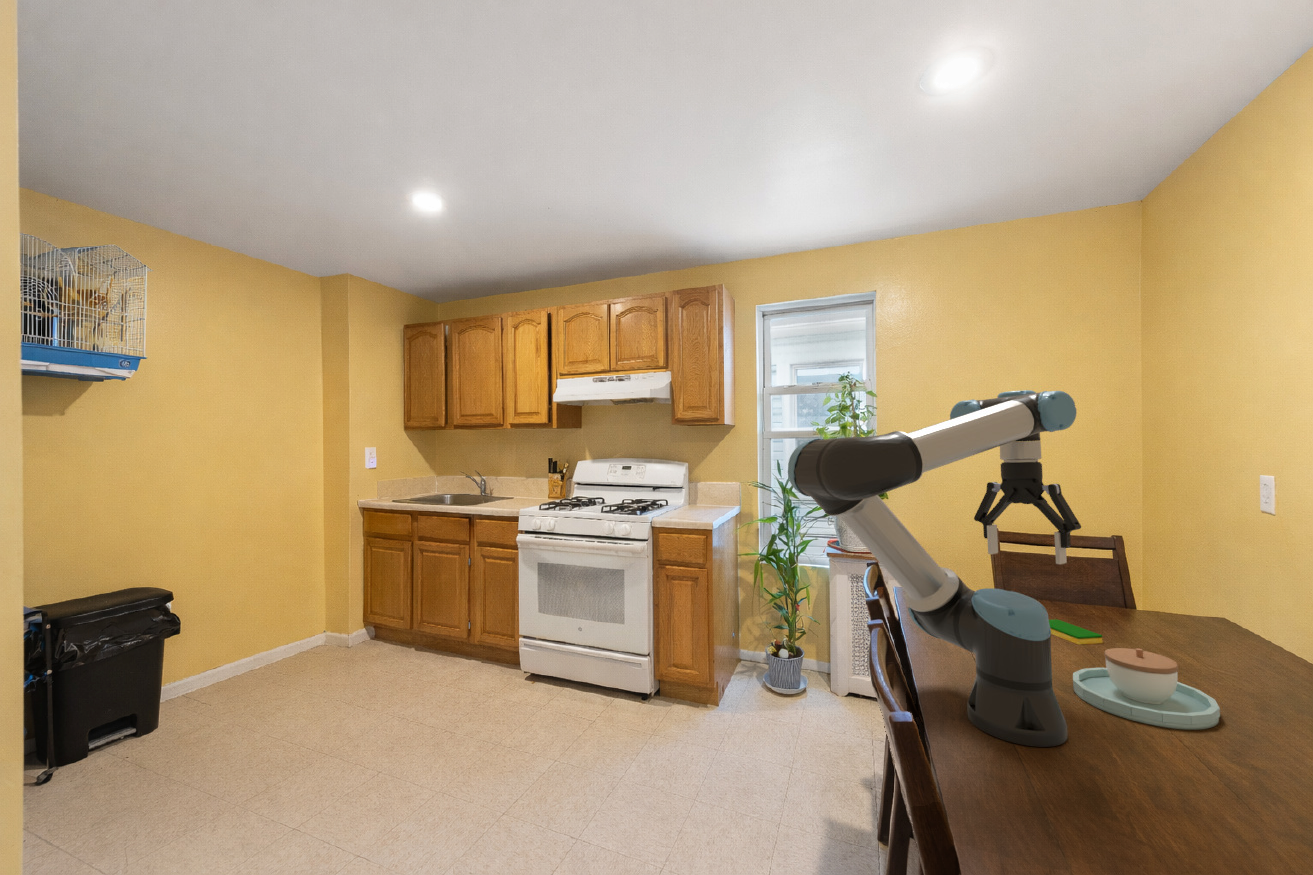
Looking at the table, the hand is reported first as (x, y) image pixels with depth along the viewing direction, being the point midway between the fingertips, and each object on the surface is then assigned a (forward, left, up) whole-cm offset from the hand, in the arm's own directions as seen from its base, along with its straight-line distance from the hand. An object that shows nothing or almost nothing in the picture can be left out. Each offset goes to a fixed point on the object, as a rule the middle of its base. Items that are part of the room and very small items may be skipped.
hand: (1025, 558), depth 115 cm
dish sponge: (+40, +10, -27) cm, 49 cm away
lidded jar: (+8, -16, -26) cm, 31 cm away
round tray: (+8, -16, -27) cm, 32 cm away
